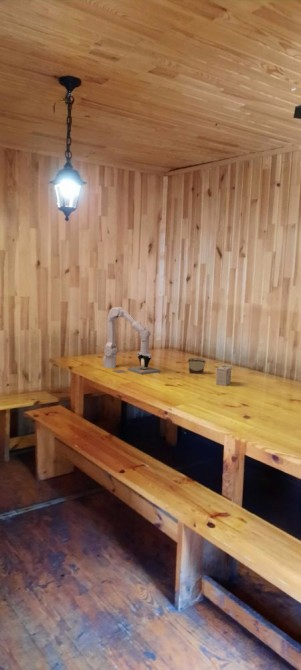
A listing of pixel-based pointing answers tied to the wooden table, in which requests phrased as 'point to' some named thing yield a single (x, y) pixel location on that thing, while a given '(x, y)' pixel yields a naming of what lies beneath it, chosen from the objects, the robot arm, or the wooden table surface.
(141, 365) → the peg
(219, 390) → the wooden table surface
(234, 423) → the wooden table surface
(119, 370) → the square grey metal plate
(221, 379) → the light bulb box
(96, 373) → the wooden table surface
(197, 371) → the food container
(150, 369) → the hole plate
